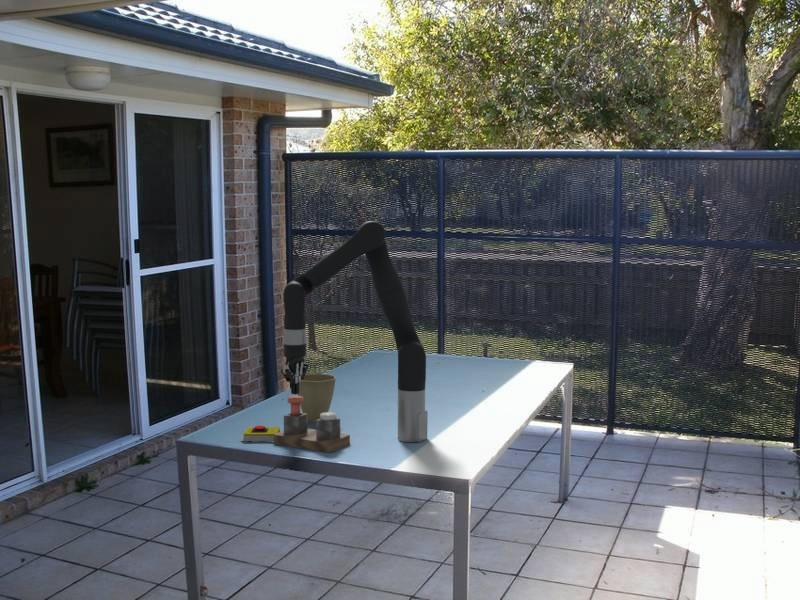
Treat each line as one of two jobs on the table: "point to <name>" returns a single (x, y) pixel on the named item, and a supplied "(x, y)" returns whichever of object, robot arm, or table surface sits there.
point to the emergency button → (260, 433)
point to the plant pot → (316, 394)
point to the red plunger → (295, 404)
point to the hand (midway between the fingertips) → (295, 393)
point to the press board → (311, 434)
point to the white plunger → (328, 416)
